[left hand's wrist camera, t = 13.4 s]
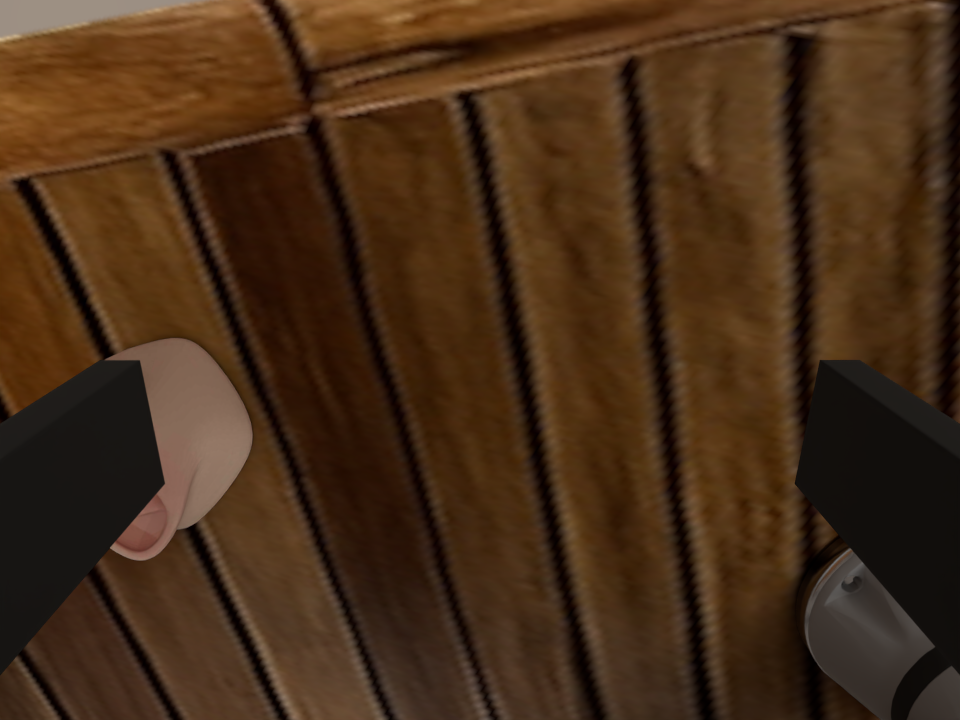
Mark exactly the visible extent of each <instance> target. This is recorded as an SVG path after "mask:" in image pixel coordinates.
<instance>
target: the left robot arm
mask: <svg viewBox="0 0 960 720" xmlns="http://www.w3.org/2000/svg"><path fill="white" fill-rule="evenodd" d="M164 485H165V480H164V475H163V470H162V466H161V461H160V456H159V451H158V446H157V441H156V436H155V431H154V426H153V421H152V417H151V412H150V407H149V402H148V397H147V392H146V387H145V382H144V377H143V372H142V368H141V363H140V360H100V361H98V362H97V363H95V364H93V365H92V366H90V367H89V368H87V369H86V370H84V371H82V372H81V373H79V374H78V375H76V376H75V377H73V378H72V379H70V380H68V381H67V382H65V383H64V384H62V385H61V386H59V387H57V388H56V389H54V390H53V391H51V392H50V393H48V394H46V395H45V396H43V397H42V398H40V399H39V400H37V401H35V402H34V403H32V404H31V405H29V406H28V407H26V408H24V409H23V410H21V411H20V412H18V413H17V414H15V415H13V416H12V417H10V418H9V419H7V420H6V421H4V422H2V423H1V424H0V675H1V674H2V673H3V671H4V670H5V669H6V668H7V667H8V666H9V664H10V663H11V662H12V661H13V660H14V659H15V657H16V656H17V655H18V654H19V653H20V652H21V651H22V649H23V648H24V647H25V646H26V645H27V644H28V642H29V641H30V640H31V639H32V638H33V637H34V635H35V634H36V633H37V632H38V631H39V630H40V628H41V627H42V626H43V625H44V624H45V623H46V622H47V620H48V619H49V618H50V617H51V616H52V615H53V613H54V612H55V611H56V610H57V609H58V608H59V606H60V605H61V604H62V603H63V602H64V601H65V599H66V598H67V597H68V596H69V595H70V594H71V592H72V591H73V590H74V589H75V588H76V587H77V586H78V584H79V583H80V582H81V581H82V580H83V579H84V577H85V576H86V575H87V574H88V573H89V572H90V570H91V569H92V568H93V567H94V566H95V565H96V563H97V562H98V561H99V560H100V559H101V558H102V557H103V555H104V554H105V553H106V552H107V551H108V550H109V548H110V547H111V546H112V545H113V544H114V543H115V541H116V540H117V539H118V538H119V537H120V536H121V534H122V533H123V532H124V531H125V530H126V529H127V528H128V526H129V525H130V524H131V523H132V522H133V521H134V519H135V518H136V517H137V516H138V515H139V514H140V512H141V511H142V510H143V509H144V508H145V507H146V505H147V504H148V503H149V502H150V501H151V500H152V498H153V497H154V496H155V495H156V494H157V493H158V492H159V490H160V489H161V488H162V487H163V486H164ZM795 485H796V486H797V487H798V488H799V489H800V490H801V492H802V493H803V494H804V495H805V496H806V497H807V498H808V500H809V501H810V502H811V503H812V504H813V505H814V507H815V508H816V509H817V510H818V511H819V512H820V514H821V515H822V516H823V517H824V518H825V519H826V521H827V522H828V523H829V524H830V525H831V526H832V528H833V529H834V530H835V531H836V532H837V533H838V534H839V536H840V538H839V539H837V540H836V541H835V542H834V543H833V544H831V545H830V546H829V547H828V548H827V549H826V550H825V551H824V552H823V553H822V554H821V555H820V556H819V557H818V558H817V560H816V561H815V562H814V563H813V565H812V566H811V568H810V569H809V571H808V572H807V574H806V576H805V578H804V580H803V582H802V584H801V586H800V589H799V592H798V596H797V601H796V610H795V612H796V623H797V628H798V631H799V634H800V636H801V638H802V640H803V642H804V643H805V645H806V647H807V648H808V650H809V651H810V653H811V655H812V656H813V658H814V660H815V661H816V663H817V664H818V666H819V667H820V668H821V669H822V670H823V671H824V672H825V673H826V674H827V675H828V676H829V677H830V678H831V679H833V680H834V681H835V682H836V683H838V684H839V685H840V686H841V687H843V688H844V689H845V690H846V691H847V692H848V693H850V694H851V695H852V696H853V697H854V698H855V699H857V700H858V701H859V702H860V703H862V704H863V705H864V706H865V707H866V708H868V709H869V710H870V711H871V712H872V713H874V714H875V715H876V716H877V717H878V718H880V719H881V720H960V424H959V423H958V422H956V421H954V420H953V419H951V418H950V417H948V416H947V415H945V414H943V413H942V412H940V411H939V410H937V409H936V408H934V407H932V406H931V405H929V404H928V403H926V402H925V401H923V400H921V399H920V398H918V397H917V396H915V395H914V394H912V393H910V392H909V391H907V390H906V389H904V388H903V387H901V386H899V385H898V384H896V383H895V382H893V381H892V380H890V379H888V378H887V377H885V376H884V375H882V374H881V373H879V372H878V371H876V370H874V369H873V368H871V367H870V366H868V365H867V364H865V363H863V362H862V361H860V360H820V363H819V368H818V372H817V377H816V382H815V387H814V392H813V397H812V402H811V407H810V412H809V417H808V421H807V426H806V431H805V436H804V441H803V446H802V451H801V456H800V461H799V466H798V470H797V475H796V480H795Z"/></svg>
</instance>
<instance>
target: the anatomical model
mask: <svg viewBox="0 0 960 720" xmlns="http://www.w3.org/2000/svg"><path fill="white" fill-rule="evenodd" d="M105 360H140V363H141V368H142V372H143V377H144V382H145V387H146V392H147V397H148V402H149V407H150V412H151V417H152V421H153V426H154V431H155V436H156V441H157V446H158V451H159V456H160V461H161V466H162V470H163V475H164V480H165V485H164V486H163V487H162V488H161V489H160V490H159V492H158V493H157V494H156V495H155V496H154V497H153V498H152V500H151V501H150V502H149V503H148V504H147V505H146V507H145V508H144V509H143V510H142V511H141V512H140V514H139V515H138V516H137V517H136V518H135V519H134V521H133V522H132V523H131V524H130V525H129V526H128V528H127V529H126V530H125V531H124V532H123V533H122V534H121V536H120V537H119V538H118V539H117V540H116V541H115V543H114V544H113V545H112V546H111V547H110V548H111V549H112V550H114V551H115V552H117V553H119V554H121V555H123V556H125V557H127V558H130V559H133V560H147V559H150V558H153V557H154V556H156V555H157V554H159V553H160V552H161V551H162V550H163V549H164V548H165V547H166V546H167V544H168V543H169V541H170V540H171V538H172V537H173V535H174V533H175V532H176V530H177V529H183V528H187V527H189V526H191V525H193V524H195V523H196V522H198V521H199V520H200V519H201V518H202V517H204V516H205V515H206V514H207V513H208V512H209V511H210V510H211V509H212V507H213V506H214V505H215V504H216V503H217V502H218V501H219V500H220V498H221V497H222V496H223V494H224V493H225V492H226V491H227V489H228V488H229V487H230V485H231V484H232V483H233V481H234V480H235V478H236V477H237V475H238V474H239V472H240V471H241V469H242V467H243V465H244V463H245V462H246V460H247V458H248V455H249V453H250V450H251V446H252V436H253V433H252V426H251V422H250V419H249V416H248V413H247V411H246V408H245V406H244V404H243V402H242V400H241V398H240V396H239V394H238V393H237V391H236V389H235V388H234V386H233V385H232V383H231V382H230V380H229V379H228V377H227V376H226V375H225V373H224V372H223V371H222V369H221V368H220V367H219V365H218V364H217V363H216V362H215V361H214V360H213V358H212V357H211V356H210V355H209V354H208V353H207V352H206V351H205V350H204V349H203V348H201V347H200V346H199V345H197V344H196V343H194V342H192V341H190V340H187V339H183V338H169V339H163V340H157V341H154V342H150V343H146V344H142V345H139V346H135V347H132V348H129V349H126V350H124V351H122V352H120V353H118V354H116V355H113V356H111V357H109V358H107V359H105Z"/></svg>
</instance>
